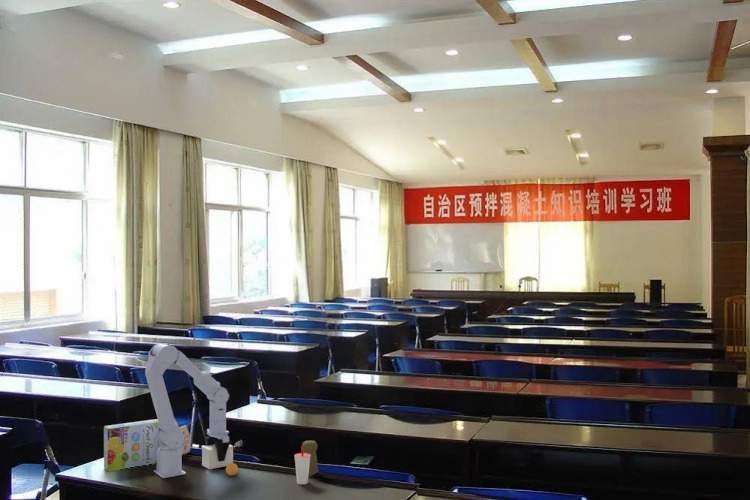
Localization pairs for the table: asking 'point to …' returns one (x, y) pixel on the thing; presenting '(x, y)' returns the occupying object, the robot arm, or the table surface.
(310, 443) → the cork
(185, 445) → the tea bag
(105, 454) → the snack box
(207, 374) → the robot arm
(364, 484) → the table surface
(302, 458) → the cup
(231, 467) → the ball
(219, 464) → the cover
